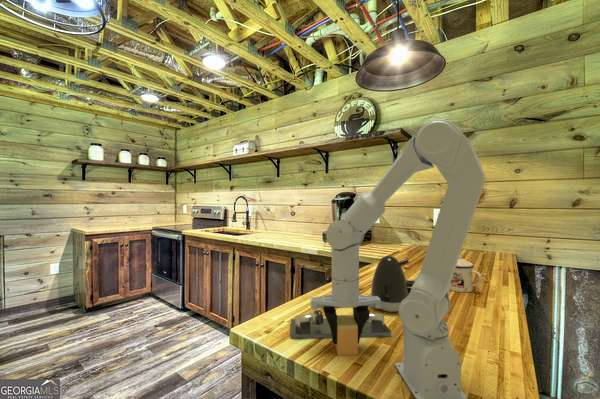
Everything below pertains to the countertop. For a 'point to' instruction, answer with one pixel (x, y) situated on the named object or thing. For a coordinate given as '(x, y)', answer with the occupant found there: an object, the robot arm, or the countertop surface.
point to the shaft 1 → (308, 321)
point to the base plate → (325, 331)
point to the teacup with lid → (464, 276)
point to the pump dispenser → (390, 283)
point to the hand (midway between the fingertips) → (345, 341)
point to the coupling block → (347, 335)
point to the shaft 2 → (376, 322)
